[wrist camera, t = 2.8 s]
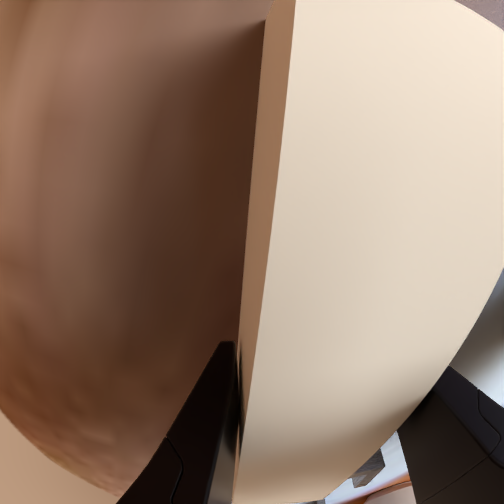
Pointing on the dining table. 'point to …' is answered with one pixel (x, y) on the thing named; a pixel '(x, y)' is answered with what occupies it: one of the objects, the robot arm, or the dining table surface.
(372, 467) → the end caps
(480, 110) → the beige wooden bar
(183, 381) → the dining table surface
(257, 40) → the dining table surface
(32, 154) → the dining table surface
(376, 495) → the can
